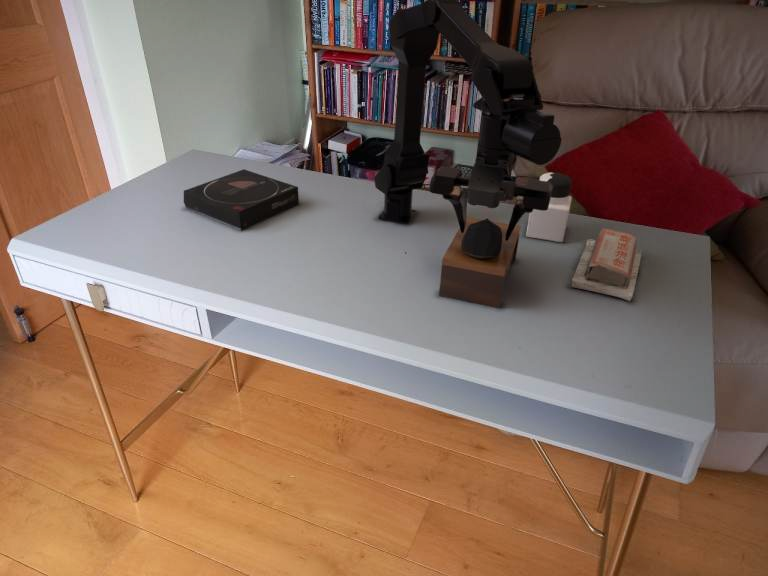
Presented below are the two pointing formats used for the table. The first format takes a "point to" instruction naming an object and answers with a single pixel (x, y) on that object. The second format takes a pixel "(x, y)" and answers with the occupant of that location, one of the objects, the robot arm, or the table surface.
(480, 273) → the walnut wood stand
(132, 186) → the table surface
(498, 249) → the gaming mouse
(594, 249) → the packaged product
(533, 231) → the medicine bottle
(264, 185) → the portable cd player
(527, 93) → the robot arm
